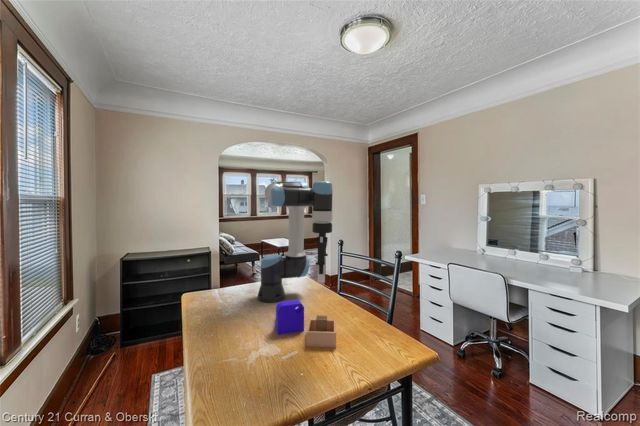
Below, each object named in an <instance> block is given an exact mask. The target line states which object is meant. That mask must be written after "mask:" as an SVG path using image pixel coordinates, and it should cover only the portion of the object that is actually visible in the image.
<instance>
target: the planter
mask: <svg viewBox="0 0 640 426" xmlns="http://www.w3.org/2000/svg"><path fill="white" fill-rule="evenodd" d="M307 322H308V323H307V326H306V327H307V328H306V332H305V333H306V334H305V335H306V336H305V339H306V340H305V341H306V342H305V347H306V348H331V349H332V348H334V349H335V348H337V320H336V319H327V332H319V331H316V319H314V318H312V319H311V318H310V319H308V321H307Z"/></svg>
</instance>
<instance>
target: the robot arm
mask: <svg viewBox="0 0 640 426" xmlns="http://www.w3.org/2000/svg"><path fill="white" fill-rule="evenodd" d="M264 190H265V191H264V195H265V197H266V199H267V200H268V201H269V202H270V205H271V206H273V207H280V208H281V207H286V208H288V247H287V248H288V250H287V252H286V253H285V257H283V256H282V254H272V255H271V254H270V255H267V256H264V257H262V259H261V260H260V286H259V289H258V292H257V300H258V301H259V302H261V303H277V302H278V303H279V302H282V301H283V300H284V299H285V298H286V291H285V289H284V286H283V279H292V278H293V279H295V278H303V277H306V276H307V275H308V274H309V270H310V258H309V256H307V253H306V252H305V251H304V249H305V247H304V245H305V241H304V240H305V209H306V208H308V207H312V213H310V216H311V217H312V221H313V222H312V233H314V234H318V236H317V238H316V248H317V262H315V265H316V268H317V275H316V276H317V284H318V283H323V284H324V283H325V282H326V273H327V257H328V255H329V254H328V253H327V245H328V237H327V234H331V233H332V232H333V223H332V222H333V193H334V190H333V183H332V182H330V181H315V182H312V187H310V186H309V184H308V183H307V182H304V181H280V180H279V181H275V182H272V183H269V184H268V185H267V186H266V188H265V189H264Z"/></svg>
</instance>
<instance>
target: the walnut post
mask: <svg viewBox="0 0 640 426" xmlns="http://www.w3.org/2000/svg"><path fill="white" fill-rule="evenodd" d="M327 320H328V315H322V314H321V315H320V314H317V315H316V331H319V332H327Z"/></svg>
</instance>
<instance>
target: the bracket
mask: <svg viewBox="0 0 640 426" xmlns="http://www.w3.org/2000/svg"><path fill="white" fill-rule="evenodd" d="M275 331H276V334H277V335H278V336H280V335H286V334H292V333H298V332H304V331H305V306H304V305H303V304H302V302H301V301H300V300H298V299H293V300H284V301H278V303H276V306H275Z"/></svg>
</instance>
